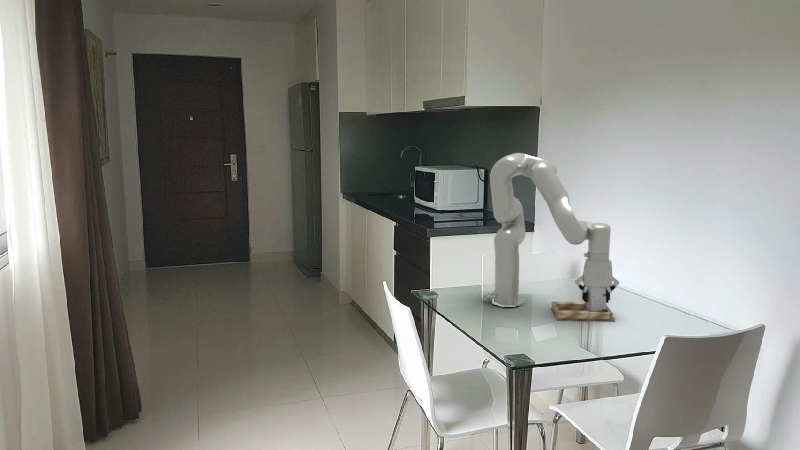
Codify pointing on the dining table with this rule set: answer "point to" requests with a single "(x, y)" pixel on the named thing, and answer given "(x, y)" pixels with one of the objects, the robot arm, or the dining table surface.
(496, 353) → the dining table surface
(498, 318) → the dining table surface
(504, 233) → the robot arm
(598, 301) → the skincare box
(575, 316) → the wooden tray
